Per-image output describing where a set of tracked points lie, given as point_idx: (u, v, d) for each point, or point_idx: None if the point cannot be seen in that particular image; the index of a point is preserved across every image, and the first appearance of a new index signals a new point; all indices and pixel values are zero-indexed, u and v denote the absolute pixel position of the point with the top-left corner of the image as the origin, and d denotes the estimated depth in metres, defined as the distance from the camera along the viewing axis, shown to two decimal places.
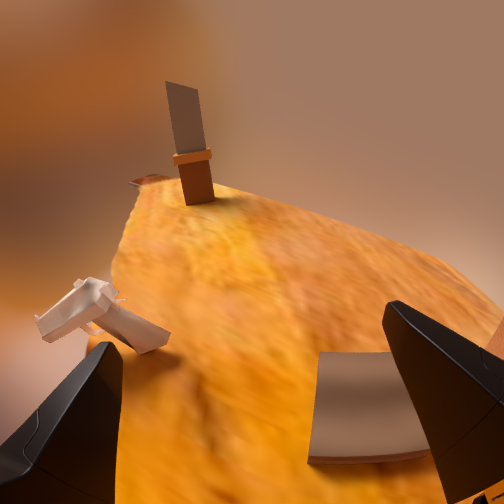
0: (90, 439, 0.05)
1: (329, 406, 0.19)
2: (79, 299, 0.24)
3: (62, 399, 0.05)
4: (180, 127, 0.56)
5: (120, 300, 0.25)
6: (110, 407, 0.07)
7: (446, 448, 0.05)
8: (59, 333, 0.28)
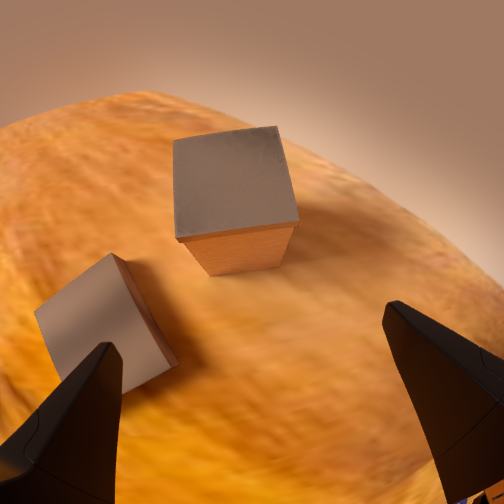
0: (90, 439, 0.05)
1: (63, 364, 0.18)
2: None
3: (62, 399, 0.05)
4: None
5: None
6: (110, 407, 0.07)
7: (446, 448, 0.05)
8: None
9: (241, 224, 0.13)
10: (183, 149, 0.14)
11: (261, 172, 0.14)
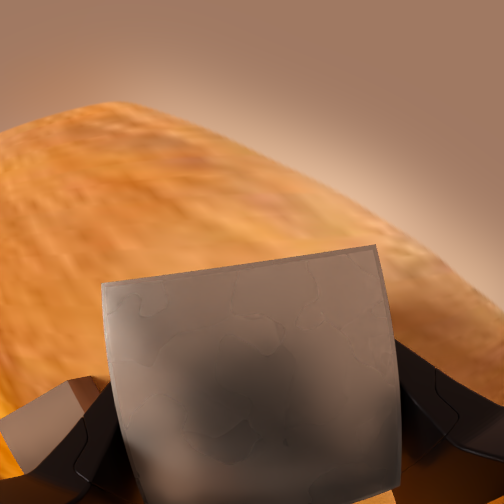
0: None
1: None
2: None
3: (112, 404, 0.05)
4: None
5: None
6: None
7: None
8: None
9: None
10: (126, 320, 0.05)
11: (338, 403, 0.05)
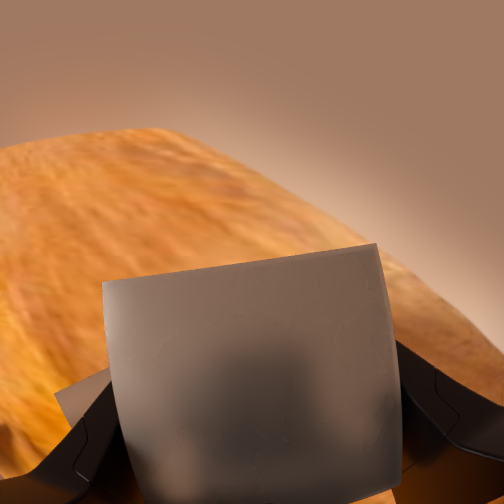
0: None
1: None
2: None
3: (112, 404, 0.05)
4: None
5: None
6: None
7: None
8: None
9: None
10: (127, 318, 0.05)
11: (339, 402, 0.05)
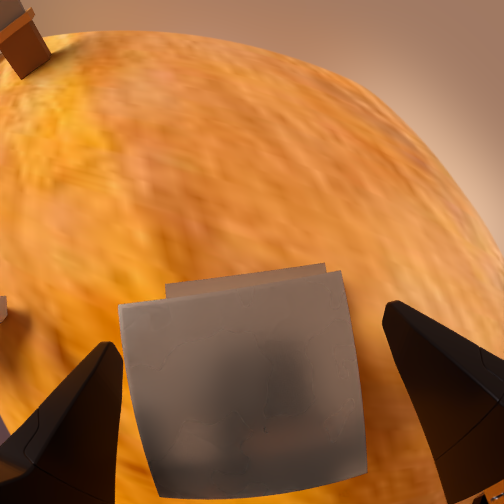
0: (90, 439, 0.05)
1: None
2: None
3: (62, 399, 0.05)
4: None
5: None
6: (110, 407, 0.07)
7: (446, 448, 0.05)
8: None
9: (268, 490, 0.05)
10: (139, 334, 0.06)
11: (308, 399, 0.06)
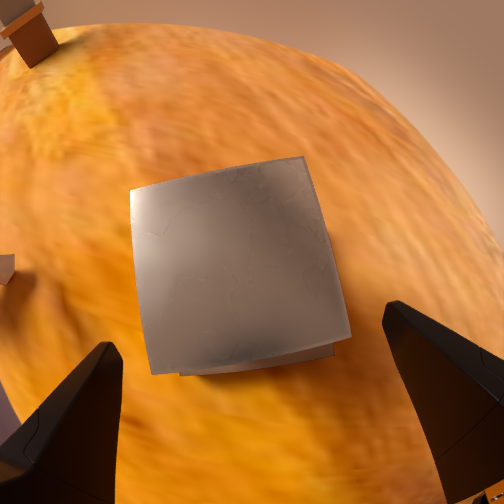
0: (90, 439, 0.05)
1: None
2: None
3: (62, 399, 0.05)
4: (1, 0, 0.13)
5: None
6: (110, 407, 0.07)
7: (446, 448, 0.05)
8: None
9: (257, 353, 0.07)
10: (146, 209, 0.08)
11: (285, 251, 0.08)
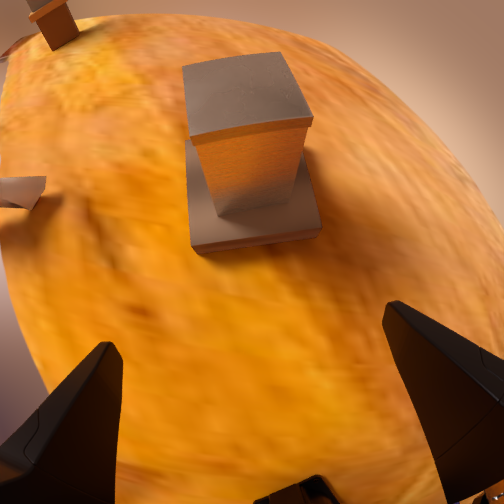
0: (90, 439, 0.05)
1: (200, 191, 0.22)
2: None
3: (62, 399, 0.05)
4: None
5: None
6: (110, 407, 0.07)
7: (446, 448, 0.05)
8: None
9: (256, 120, 0.12)
10: (192, 71, 0.13)
11: (270, 82, 0.13)
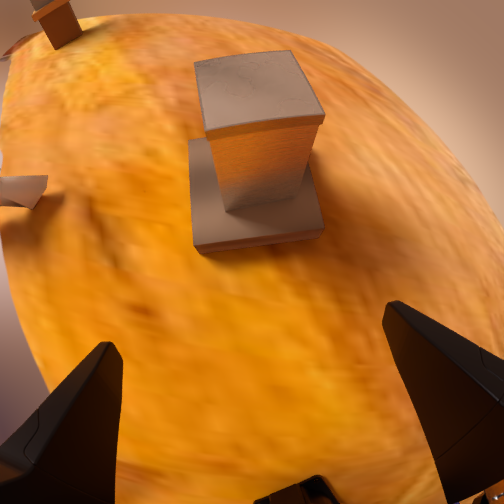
0: (90, 439, 0.05)
1: (203, 191, 0.22)
2: None
3: (62, 399, 0.05)
4: None
5: None
6: (110, 407, 0.07)
7: (446, 448, 0.05)
8: None
9: (270, 117, 0.12)
10: (204, 67, 0.13)
11: (282, 80, 0.13)
